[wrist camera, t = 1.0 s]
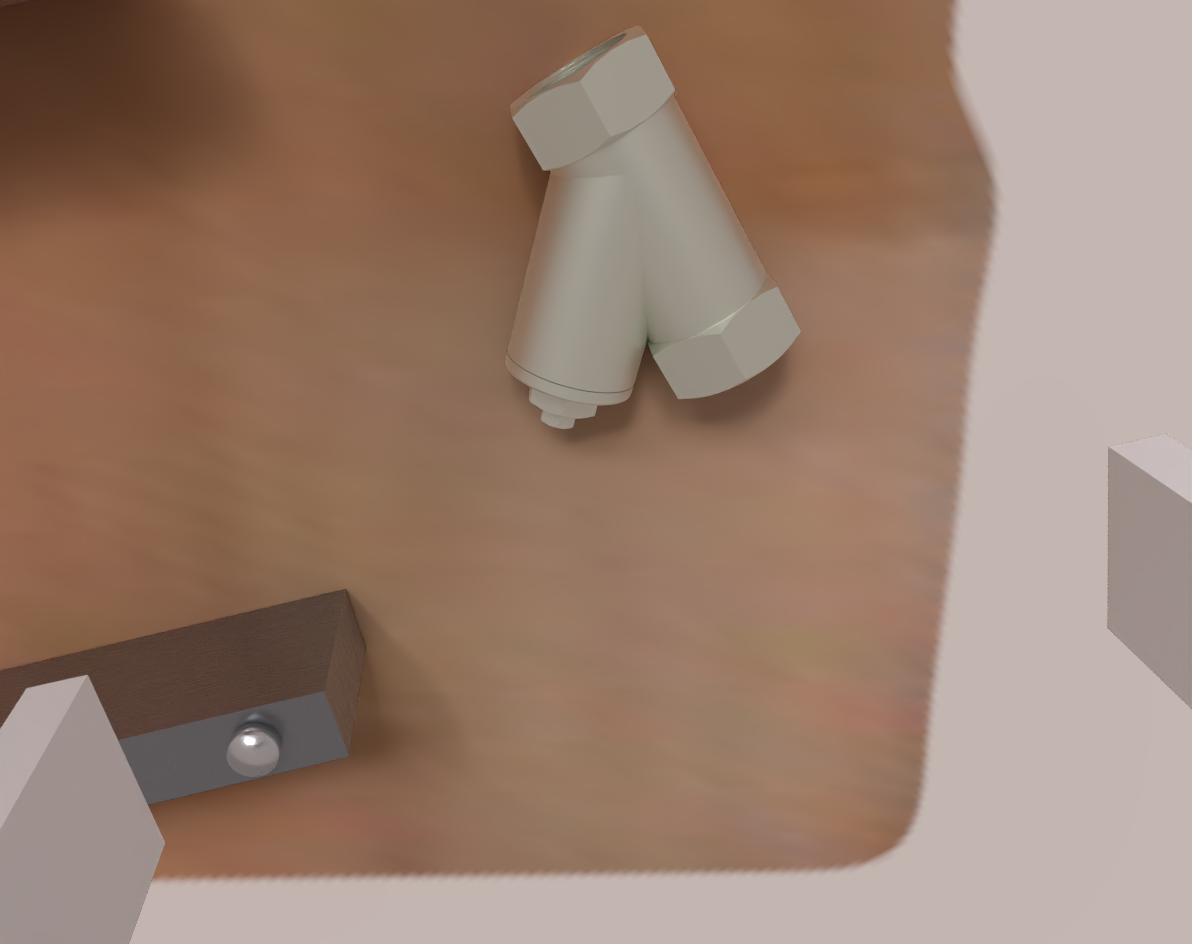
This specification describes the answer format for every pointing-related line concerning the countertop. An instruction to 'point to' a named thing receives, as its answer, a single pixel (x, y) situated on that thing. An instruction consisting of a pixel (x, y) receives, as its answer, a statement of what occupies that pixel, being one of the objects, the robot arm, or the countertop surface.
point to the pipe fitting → (633, 246)
